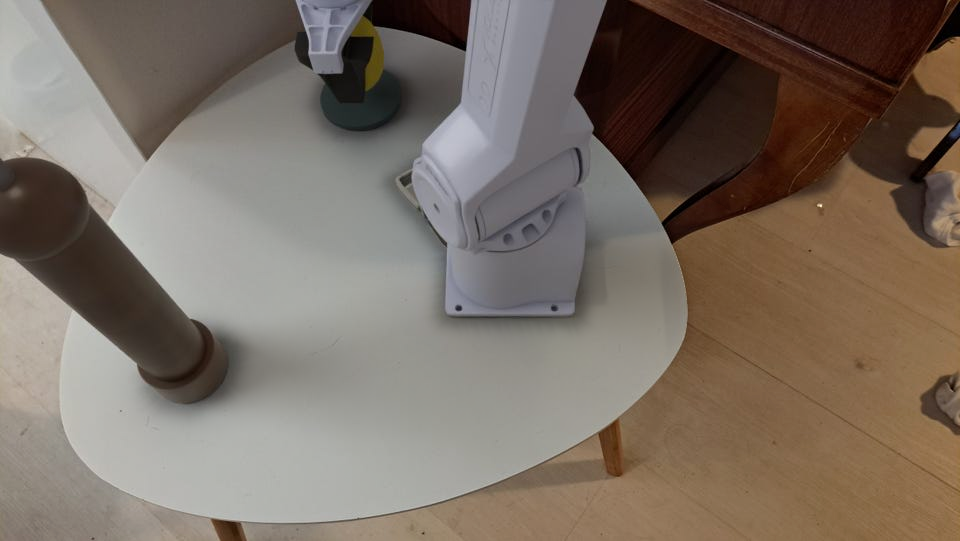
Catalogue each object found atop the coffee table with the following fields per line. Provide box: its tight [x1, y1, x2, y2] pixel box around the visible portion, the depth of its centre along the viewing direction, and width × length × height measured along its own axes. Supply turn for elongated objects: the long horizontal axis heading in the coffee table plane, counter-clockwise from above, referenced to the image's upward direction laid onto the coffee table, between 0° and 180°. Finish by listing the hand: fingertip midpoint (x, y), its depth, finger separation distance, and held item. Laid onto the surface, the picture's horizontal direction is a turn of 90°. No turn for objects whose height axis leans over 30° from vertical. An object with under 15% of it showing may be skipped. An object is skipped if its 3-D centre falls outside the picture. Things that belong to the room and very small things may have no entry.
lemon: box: [351, 16, 385, 91], centre depth 59 cm, size 6×6×8 cm
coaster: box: [319, 69, 402, 132], centre depth 63 cm, size 7×7×1 cm
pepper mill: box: [0, 156, 229, 404], centre depth 41 cm, size 5×5×24 cm
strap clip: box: [394, 167, 447, 250], centre depth 56 cm, size 8×3×4 cm, turn 36°
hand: (354, 71), depth 60 cm, fingers closed on lemon, 5 cm apart
